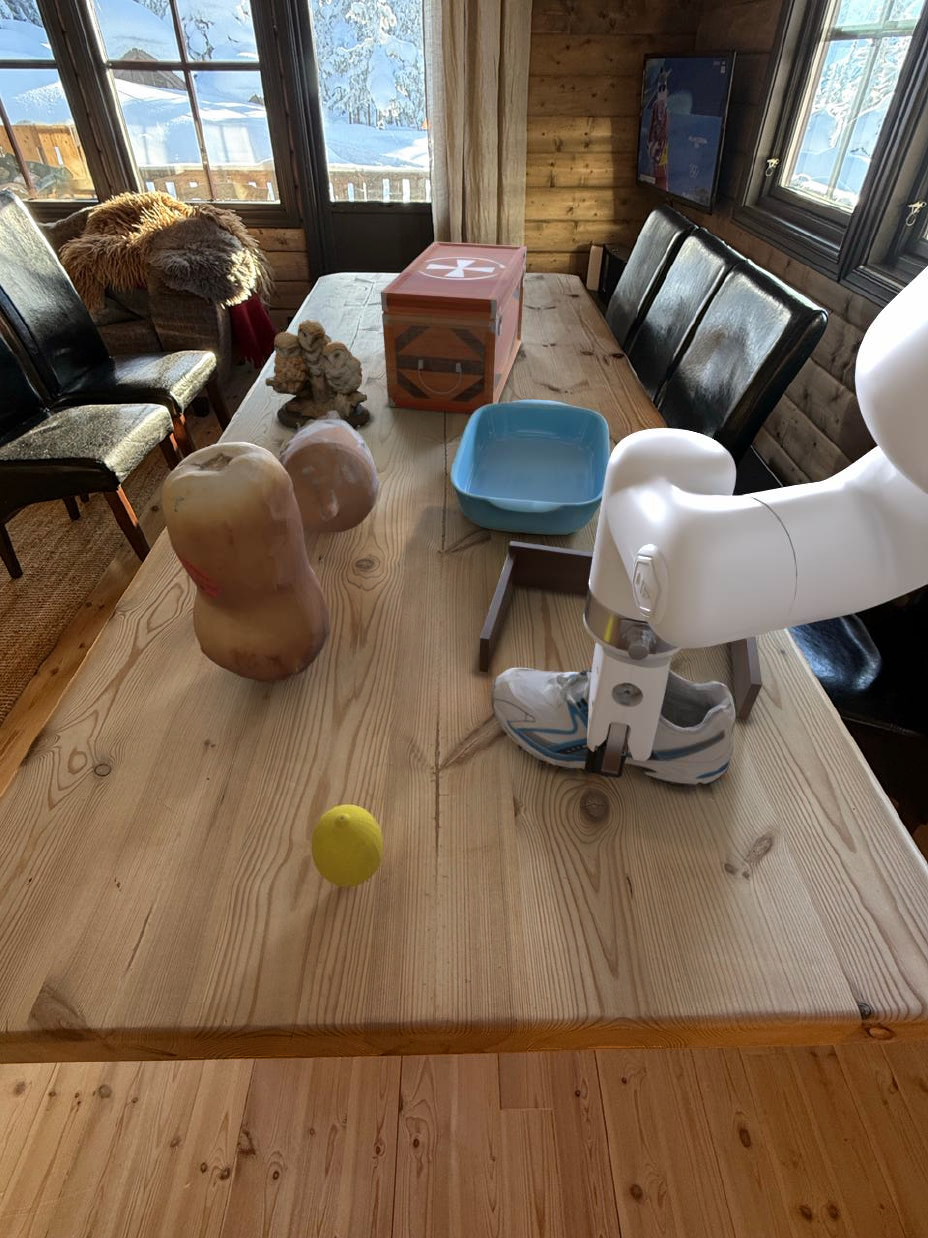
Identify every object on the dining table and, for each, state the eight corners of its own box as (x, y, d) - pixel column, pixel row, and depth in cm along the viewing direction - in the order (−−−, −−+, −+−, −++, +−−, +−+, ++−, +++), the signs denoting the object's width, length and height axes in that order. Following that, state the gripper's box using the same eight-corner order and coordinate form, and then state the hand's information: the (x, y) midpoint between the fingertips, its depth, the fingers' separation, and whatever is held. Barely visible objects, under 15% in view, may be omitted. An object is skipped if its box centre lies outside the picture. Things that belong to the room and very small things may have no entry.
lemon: (394, 891, 53) (387, 837, 48) (326, 914, 51) (311, 861, 46) (377, 833, 57) (369, 777, 52) (313, 853, 55) (298, 798, 50)
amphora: (266, 488, 76) (286, 351, 95) (268, 580, 88) (286, 443, 107) (385, 500, 79) (382, 365, 98) (372, 588, 91) (371, 453, 110)
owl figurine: (264, 432, 116) (243, 331, 105) (281, 404, 125) (264, 309, 114) (365, 434, 115) (355, 333, 104) (375, 407, 124) (367, 311, 113)
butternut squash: (187, 665, 72) (108, 456, 56) (286, 606, 80) (242, 407, 63) (264, 730, 65) (198, 513, 49) (364, 659, 73) (336, 451, 57)
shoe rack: (747, 719, 67) (765, 678, 63) (478, 671, 72) (480, 630, 68) (736, 614, 79) (750, 574, 75) (507, 579, 84) (510, 540, 80)
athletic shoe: (494, 681, 70) (497, 616, 60) (715, 708, 68) (755, 645, 58) (481, 770, 64) (483, 714, 55) (723, 802, 62) (769, 750, 52)
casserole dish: (475, 430, 117) (476, 391, 112) (602, 439, 115) (608, 399, 110) (438, 547, 89) (437, 501, 85) (604, 563, 87) (613, 516, 82)
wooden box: (522, 343, 152) (528, 245, 139) (494, 416, 122) (498, 300, 108) (436, 337, 155) (434, 240, 142) (387, 406, 125) (379, 292, 111)
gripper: (698, 693, 40) (643, 852, 52) (690, 556, 51) (647, 713, 63) (575, 673, 41) (549, 833, 53) (593, 543, 53) (569, 700, 64)
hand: (602, 768), depth 58 cm, fingers closed
